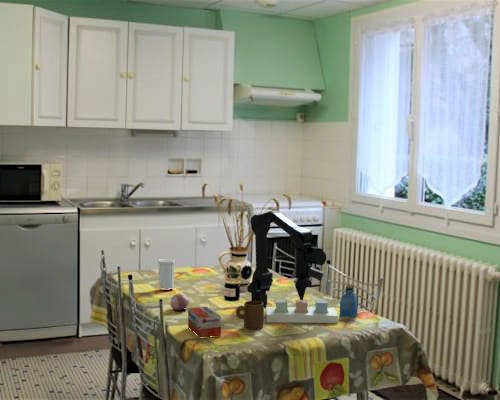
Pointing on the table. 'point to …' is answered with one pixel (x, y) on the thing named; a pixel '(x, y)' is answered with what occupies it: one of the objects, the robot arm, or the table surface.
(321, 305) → the button slate
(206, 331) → the medicine box
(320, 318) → the panel
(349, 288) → the perfume bottle
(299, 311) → the button terracotta
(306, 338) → the table surface
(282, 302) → the button sage
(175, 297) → the onion
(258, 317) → the mug
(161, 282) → the cup
